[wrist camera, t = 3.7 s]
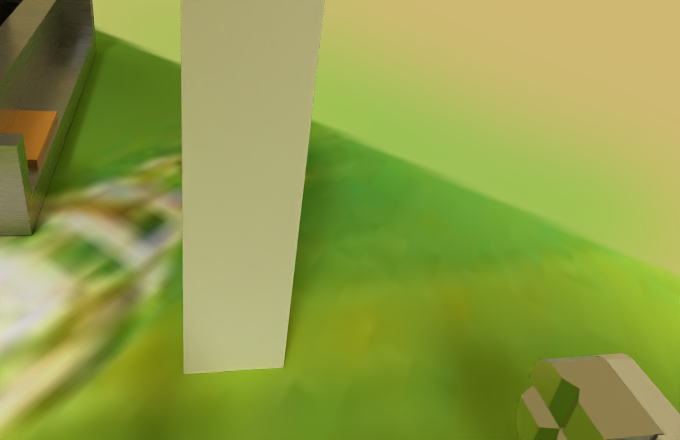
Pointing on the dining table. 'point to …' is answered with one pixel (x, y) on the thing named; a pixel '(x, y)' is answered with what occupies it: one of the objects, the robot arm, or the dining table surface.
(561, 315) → the dining table surface
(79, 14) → the rack
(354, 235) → the dining table surface
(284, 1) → the beige rectangular block
